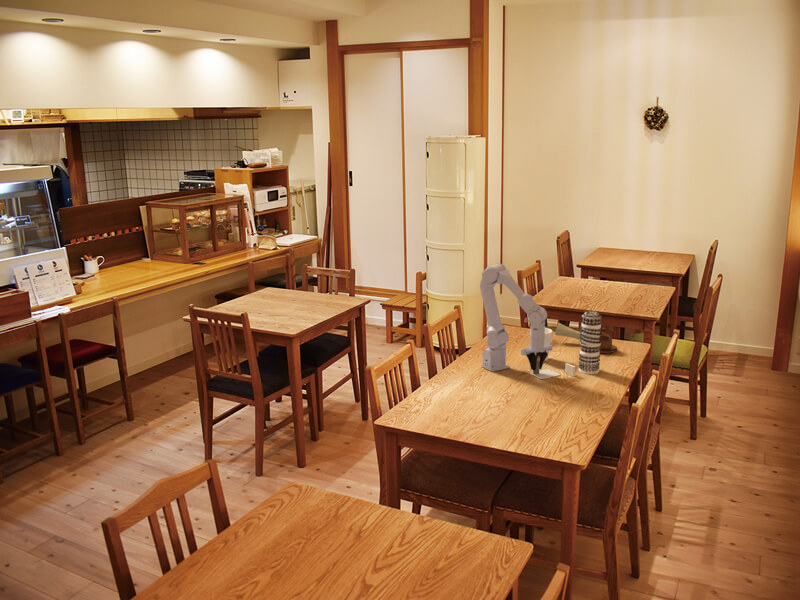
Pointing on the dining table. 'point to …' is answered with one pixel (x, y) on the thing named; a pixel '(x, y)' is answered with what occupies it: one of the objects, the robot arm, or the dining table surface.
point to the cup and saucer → (606, 345)
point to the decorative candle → (590, 342)
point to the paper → (545, 374)
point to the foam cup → (547, 339)
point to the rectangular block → (570, 369)
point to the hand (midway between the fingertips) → (536, 369)
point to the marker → (537, 366)
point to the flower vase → (562, 330)
